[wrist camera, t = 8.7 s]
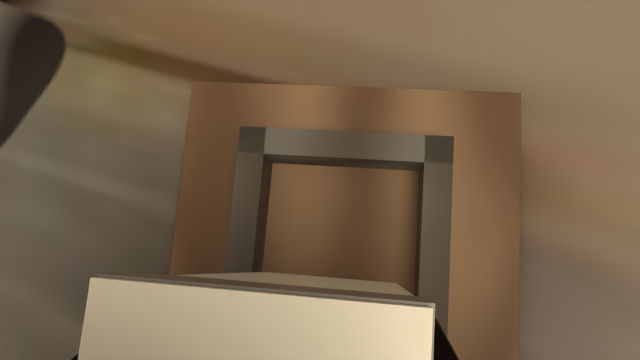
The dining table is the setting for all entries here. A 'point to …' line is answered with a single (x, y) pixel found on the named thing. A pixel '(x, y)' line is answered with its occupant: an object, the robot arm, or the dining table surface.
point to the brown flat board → (361, 195)
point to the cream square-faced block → (253, 318)
